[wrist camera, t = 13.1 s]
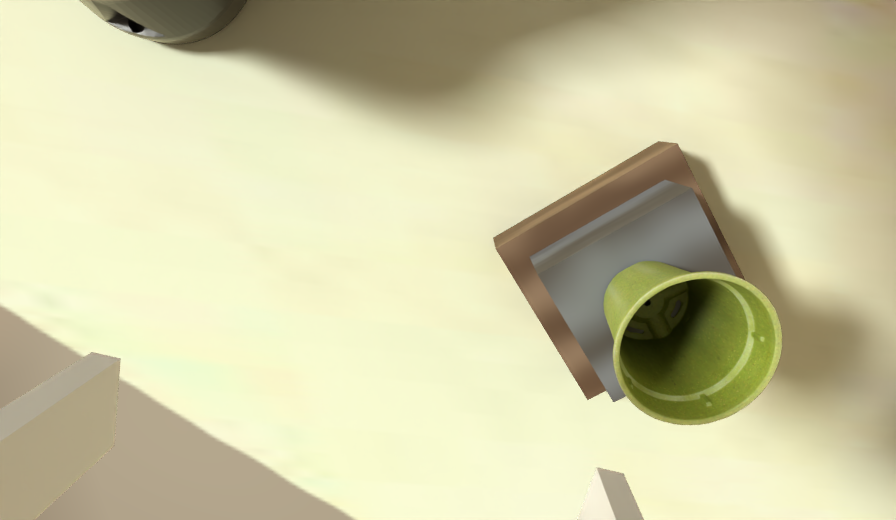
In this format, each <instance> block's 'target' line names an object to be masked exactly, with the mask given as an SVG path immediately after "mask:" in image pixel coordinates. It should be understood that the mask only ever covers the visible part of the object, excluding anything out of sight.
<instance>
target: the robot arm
mask: <svg viewBox="0 0 896 520" xmlns="http://www.w3.org/2000/svg"><path fill="white" fill-rule="evenodd" d="M80 1H81V2H82V3H83V4H84V5H85V6H87V7H88V8H89V9H90V10H91V11H92V12H94V13H95V14H96V15H97V16H99V17H100V18H101V19H103V20H104V21H105V22H107V23H109V24H110V25H112V26H114V27H116V28H117V29H120V30H122V31H124V32H126V33H128V34H131V35H134V36H137V37H140V38H144V39H148V40H152V41H156V42H161V43H168V44H183V43H191V42H195V41H199V40H202V39H205V38H207V37H209V36H211V35H213V34H215V33H217V32H218V31H220V30H221V29H223V28H224V27H225V26H226V25H227V24H229V23H230V22H231V21H232V20H233V19H234V17H235V16H236V15H237V14H238V13H239V11H240V10H241V8H242V7H243V5H244V4H245V2H246V0H80ZM119 373H120V358H115V357H111V356H107V355H102V354H98V353H94V352H91V353H90V354H88V355H86V356H85V357H83V358H82V359H80V360H79V361H77V362H75V363H74V364H72V365H70V366H69V367H67V368H65V369H64V370H62V371H61V372H59V373H57V374H56V375H54V376H53V377H51V378H49V379H48V380H46V381H44V382H43V383H41V384H40V385H38V386H37V387H35V388H33V389H32V390H30V391H28V392H27V393H25V394H23V395H22V396H20V397H19V398H17V399H15V400H14V401H12V402H11V403H9V404H7V405H6V406H4V407H2V408H1V409H0V520H35V519H36V518H37V517H38V516H39V515H40V514H41V513H42V512H43V511H44V510H46V509H47V508H48V507H49V506H50V505H51V504H52V503H53V502H54V501H55V500H56V499H57V498H59V497H60V496H61V495H62V494H63V493H64V492H65V491H66V490H67V489H68V488H69V487H70V486H71V485H73V484H74V483H75V482H76V481H77V480H78V479H79V478H80V477H81V476H82V475H83V474H84V473H85V472H87V471H88V470H89V469H90V468H91V467H92V466H93V465H94V464H95V463H96V462H97V461H98V460H100V459H101V458H102V457H103V456H104V455H105V454H106V453H107V452H108V451H109V450H110V449H111V448H113V447H114V443H115V428H116V415H117V400H118V386H119ZM577 520H644V519H643V516H642V514H641V512H640V510H639V508H638V505H637V503H636V501H635V499H634V496H633V494H632V492H631V490H630V487H629V485H628V483H627V481H626V478H625V476H624V474H623V473H619V472H615V471H610V470H606V469H601V468H597V467H596V470H595V472H594V475H593V478H592V481H591V483H590V486H589V489H588V491H587V494H586V497H585V499H584V502H583V505H582V508H581V510H580V513H579V516H578V518H577Z"/></svg>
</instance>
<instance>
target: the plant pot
mask: <svg viewBox="0 0 896 520" xmlns="http://www.w3.org/2000/svg"><path fill="white" fill-rule="evenodd" d="M647 300H650V301H651V303H650V305H648V306H646V305H644V303H645V302H646V301H647ZM677 300H680V302H681V306H680V309H679V311H678V313H677V314H676V315H675V316H674V317H671V314H672V312H673V310H674V308H675V305H676V301H677ZM603 306H604V313H605V316H606V319H607V322H608V325H609V328H610V330H611V333H612V336H613V339H614V345H613V365H614V370H615V374H616V377H617V380H618V382H619V385H620V387H621V389H622V390H623V392H624V394H625V395H626V396H627V398H628V399H629V400H630V401H631V402H632V403H633V404H634V405H635V406H636V407H637V408H638V409H640V410H641V411H642V412H644V413H645V414H647V415H649V416H651V417H653V418H655V419H658V420H661V421H664V422H668V423H672V424H679V425H700V424H707V423H711V422H714V421H717V420H720V419H723V418H726V417H729V416H731V415H733V414H735V413H736V412H738V411H740V410H741V409H743V408H744V407H746V406H747V405H749V404H750V403H751V402H752V401H753V400H755V399H756V398H757V397H758V395H759V394H760V393H761V392H762V391H763V390H764V389H765V387H766V386H767V385H768V383H769V382H770V380H771V378H772V376H773V374H774V373H775V370H776V368H777V366H778V363H779V360H780V356H781V351H782V331H781V325H780V321H779V318H778V315H777V313H776V310H775V308H774V306H773V305H772V303H771V302H770V300H769V299H768V298H767V297H766V295H765V294H764V293H763V292H761V291H760V290H759V289H758V288H757V287H755V286H754V285H752V284H751V283H749V282H747V281H745V280H743V279H741V278H739V277H736V276H733V275H730V274H726V273H721V272H711V271H703V272H693V273H692V272H688V271H685V270H682V269H679V268H676V267H674V266H671V265H668V264H665V263H662V262H658V261H642V262H638V263H636V264H634V265H632V266H630V267H628V268H626V269H624V270H623V271H621V272H619V273H618V274H617V275H616V276H615V277H614V278H613V279H612V280H611V282H610V284H609V285H608V287H607V289H606V292H605V295H604V303H603ZM627 326H630V327H633V328H636V329H640V330H644V332H643V333H641V334H640V333H636V332H635V333H633V332H630V331H628V330H626V327H627Z"/></svg>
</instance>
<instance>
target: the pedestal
mask: <svg viewBox="0 0 896 520" xmlns="http://www.w3.org/2000/svg"><path fill="white" fill-rule="evenodd" d="M493 239H494V243H495V247H496V250H497V252H498V253H499V255H500V257H501V258H502V260H503V261H504V263H505V265H506V266H507V268H508V270H509V271H510V273H511V275H512V276H513V278H514V280H515V281H516V283H517V284H518V286H519V288H520V289H521V291H522V293H523V294H524V296H525V298H526V299H527V301H528V303H529V304H530V306H531V308H532V309H533V311H534V312H535V314H536V316H537V317H538V319H539V321H540V322H541V324H542V326H543V327H544V329H545V331H546V332H547V334H548V335H549V337H550V339H551V340H552V342H553V344H554V345H555V347H556V349H557V350H558V352H559V354H560V355H561V357H562V358H563V360H564V362H565V363H566V365H567V367H568V368H569V370H570V372H571V373H572V375H573V377H574V378H575V380H576V382H577V383H578V385H579V386H580V388H581V390H582V391H583V393H584V395H585V396H586V398H587V400H589V399H591V398H593V397H594V396H596V395H598V394H600V393H602V392H604V391H606V390H607V392H608V394H609V395H610V397H611V399H612V400H613V402H615V401H617V400H619V399H621V398H623V397H625V396H626V395H625V394H624V392H623V390H622V389H621V387H620V385H619V382H618V380H617V377H616V374H615V370H614V365H613V345H614V339H613V336H612V333H611V330H610V328H609V325H608V322H607V319H606V316H605V313H604V306H603V303H604V295H605V292H606V289H607V287H608V285H609V284H610V282H611V280H612V279H613V278H614V277H615V276H616V275H617V274H618V273H619V272H621V271H623V270H624V269H626V268H628V267H630V266H632V265H634V264H636V263H638V262H642V261H658V262H662V263H665V264H668V265H671V266H674V267H676V268H679V269H682V270H685V271H688V272H692V273H693V272H703V271H711V272H721V273H726V274H730V275H733V276H736V277H739V278H741V279H743V280H745V279H744V277H743V275H742V273H741V271H740V269H739V267H738V265H737V263H736V261H735V259H734V257H733V255H732V253H731V251H730V249H729V247H728V245H727V243H726V241H725V239H724V237H723V235H722V233H721V231H720V229H719V226H718V224H717V222H716V220H715V218H714V216H713V214H712V212H711V210H710V208H709V206H708V204H707V202H706V200H705V198H704V196H703V194H702V192H701V190H700V188H699V186H698V184H697V182H696V180H695V178H694V176H693V174H692V172H691V170H690V168H689V166H688V164H687V162H686V160H685V158H684V156H683V154H682V152H681V150H680V148H679V146H678V144H677V143H668V142H659V141H658V142H657V143H655V144H653V145H652V146H650V147H648V148H646V149H645V150H643V151H641V152H640V153H638V154H636V155H634V156H633V157H631V158H629V159H628V160H626V161H624V162H622V163H621V164H619V165H617V166H616V167H614V168H612V169H610V170H609V171H607V172H605V173H604V174H602V175H600V176H598V177H597V178H595V179H593V180H592V181H590V182H588V183H586V184H585V185H583V186H581V187H580V188H578V189H576V190H574V191H573V192H571V193H569V194H568V195H566V196H564V197H562V198H561V199H559V200H557V201H556V202H554V203H552V204H551V205H549V206H547V207H545V208H544V209H542V210H540V211H539V212H537V213H535V214H533V215H532V216H530V217H528V218H527V219H525V220H523V221H521V222H520V223H518V224H516V225H515V226H513V227H511V228H509V229H508V230H506V231H504V232H503V233H501V234H499V235H497V236H496V237H494V238H493ZM650 303H651V301H650V300H647V301H646V302H645V303H644V305H646V306H648V305H650ZM680 306H681V302H680V300H677V301H676V305H675V308H674V310H673V312H672V314H671V317H674V316H675V315H676V314H677V313H678V311H679V309H680ZM626 330H628V331H630V332H633V333H635V332H636V333H640V334H641V333H643V332H644V330H640V329H636V328H633V327H630V326H627V327H626Z"/></svg>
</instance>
